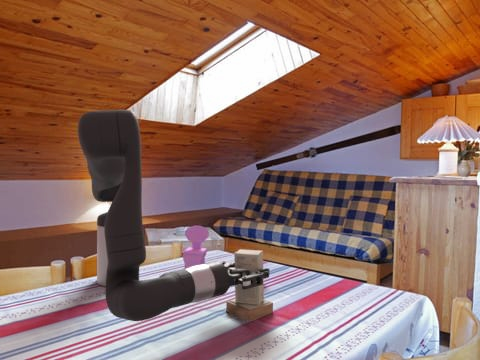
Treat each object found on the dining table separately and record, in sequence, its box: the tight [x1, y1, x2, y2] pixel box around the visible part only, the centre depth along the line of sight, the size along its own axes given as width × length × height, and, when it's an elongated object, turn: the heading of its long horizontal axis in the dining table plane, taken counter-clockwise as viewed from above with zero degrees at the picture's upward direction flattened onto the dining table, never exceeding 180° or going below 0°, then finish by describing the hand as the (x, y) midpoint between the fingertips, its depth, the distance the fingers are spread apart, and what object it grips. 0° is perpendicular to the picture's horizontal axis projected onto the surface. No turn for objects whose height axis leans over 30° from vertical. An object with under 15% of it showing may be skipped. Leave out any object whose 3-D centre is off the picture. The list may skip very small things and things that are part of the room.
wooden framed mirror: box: [225, 298, 274, 323], centre depth 90 cm, size 8×8×3 cm
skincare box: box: [233, 248, 265, 305], centre depth 90 cm, size 6×4×12 cm
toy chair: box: [182, 225, 210, 269], centre depth 123 cm, size 8×9×15 cm
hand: (256, 268), depth 91 cm, fingers open, 7 cm apart
